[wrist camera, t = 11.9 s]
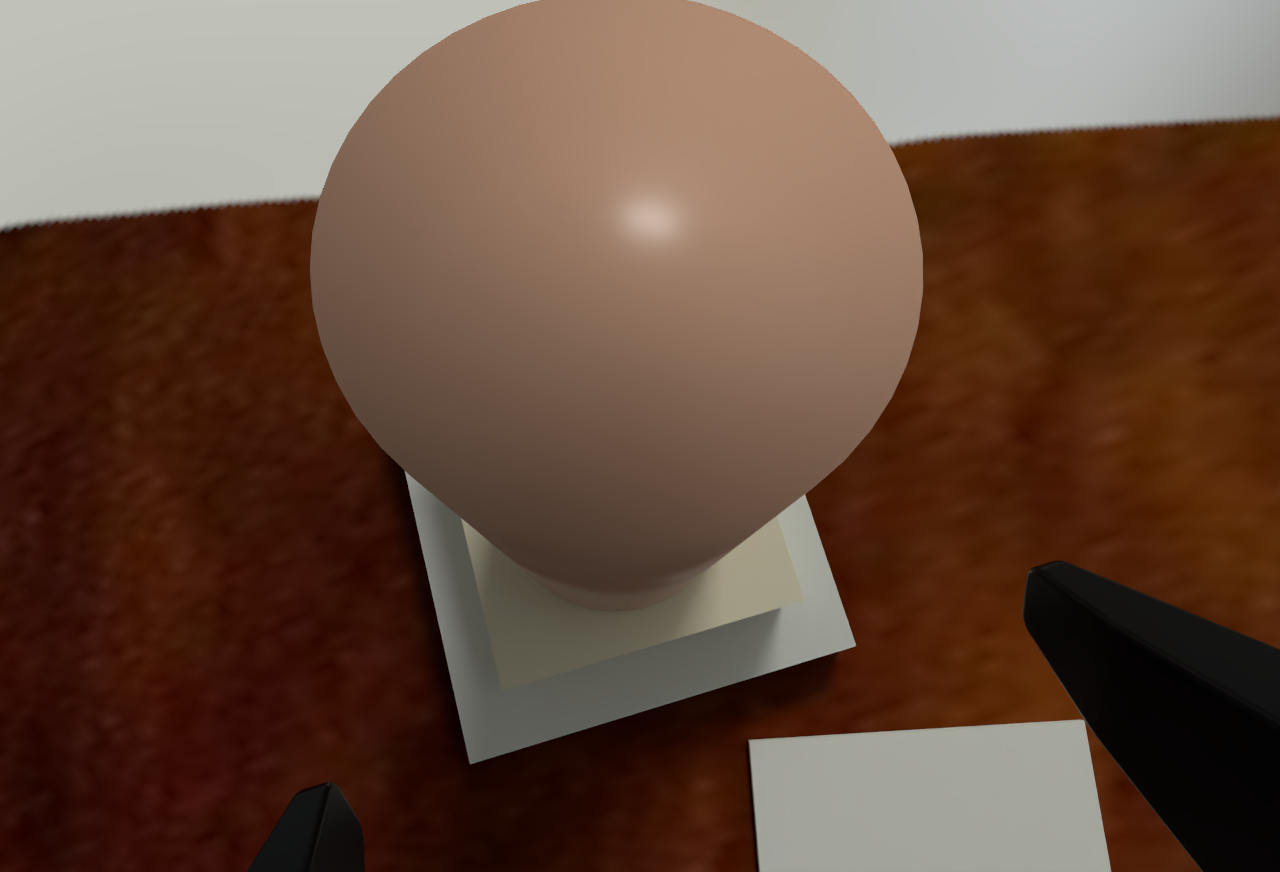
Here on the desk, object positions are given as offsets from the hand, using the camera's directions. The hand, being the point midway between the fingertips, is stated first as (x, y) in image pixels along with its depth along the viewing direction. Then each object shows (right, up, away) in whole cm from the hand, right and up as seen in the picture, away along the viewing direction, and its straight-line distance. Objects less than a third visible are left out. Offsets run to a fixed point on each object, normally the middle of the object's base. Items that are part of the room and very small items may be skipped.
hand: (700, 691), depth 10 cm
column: (-1, +2, +9) cm, 9 cm away
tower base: (-1, +1, +12) cm, 12 cm away
